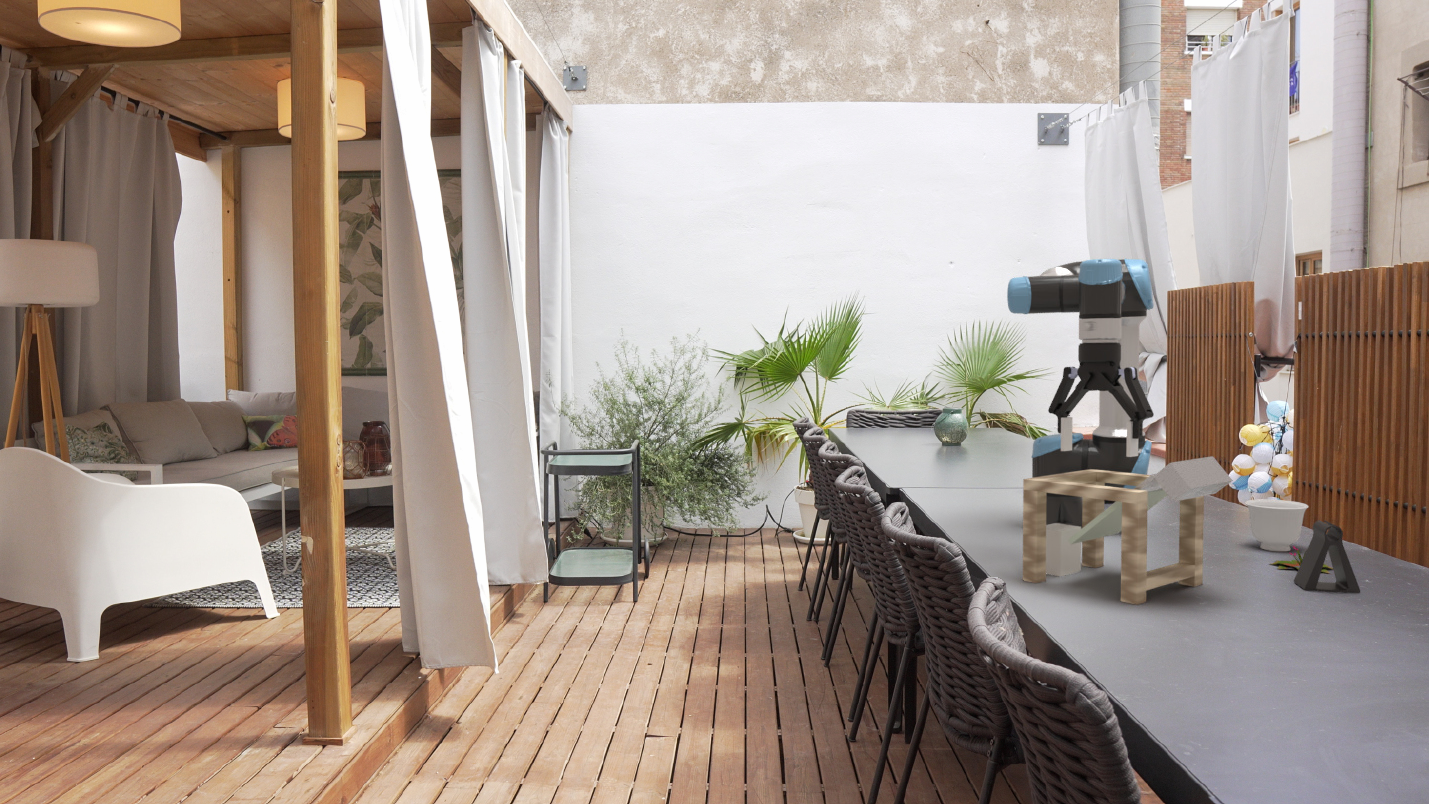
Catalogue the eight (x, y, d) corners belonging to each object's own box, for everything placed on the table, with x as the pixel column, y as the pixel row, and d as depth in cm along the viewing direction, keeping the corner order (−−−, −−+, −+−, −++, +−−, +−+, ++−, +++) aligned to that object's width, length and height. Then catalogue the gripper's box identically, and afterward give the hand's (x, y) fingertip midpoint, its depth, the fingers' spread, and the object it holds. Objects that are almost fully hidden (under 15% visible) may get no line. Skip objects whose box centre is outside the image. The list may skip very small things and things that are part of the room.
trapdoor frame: (1022, 580, 186) (1023, 479, 185) (1090, 563, 200) (1091, 469, 199) (1137, 604, 168) (1138, 492, 167) (1202, 584, 182) (1204, 480, 181)
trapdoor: (1234, 480, 173) (1212, 453, 176) (1189, 488, 164) (1166, 460, 166) (1132, 555, 189) (1114, 529, 192) (1086, 566, 179) (1067, 539, 182)
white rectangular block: (1060, 531, 189) (1060, 577, 189) (1081, 526, 193) (1080, 571, 193) (1036, 527, 193) (1035, 572, 193) (1056, 523, 197) (1056, 566, 198)
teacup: (1284, 541, 221) (1285, 497, 220) (1318, 555, 206) (1319, 508, 206) (1229, 540, 222) (1229, 497, 222) (1258, 554, 207) (1259, 507, 207)
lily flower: (1268, 573, 193) (1268, 550, 192) (1266, 561, 203) (1267, 539, 203) (1340, 579, 187) (1340, 555, 187) (1334, 566, 198) (1335, 544, 197)
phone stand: (1347, 585, 180) (1349, 521, 180) (1360, 593, 174) (1362, 526, 174) (1293, 582, 182) (1294, 519, 182) (1304, 590, 177) (1305, 525, 176)
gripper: (1030, 342, 192) (1030, 449, 193) (1152, 340, 172) (1151, 460, 173) (1053, 342, 196) (1052, 447, 197) (1174, 340, 176) (1172, 457, 178)
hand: (1098, 453), depth 185 cm, fingers open, 13 cm apart
